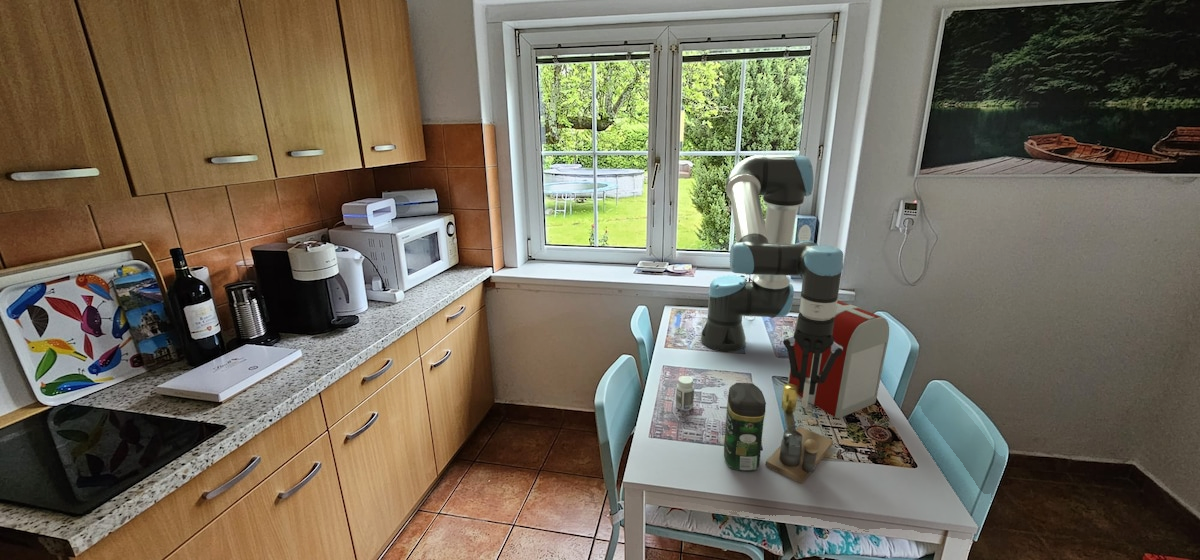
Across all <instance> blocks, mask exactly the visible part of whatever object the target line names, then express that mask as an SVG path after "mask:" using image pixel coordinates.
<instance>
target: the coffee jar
mask: <svg viewBox="0 0 1200 560" xmlns="http://www.w3.org/2000/svg"><path fill="white" fill-rule="evenodd" d="M726 404H727V405H726V414H725V415H726V416H725V418H726V419H725V432H724V442H723V454H724V455H723V456H724V458H725V461H726V462H725V463H726V464H727V465H728V467H729V468H732V469H734V470H737V471H739V472H740V471H741V472H752V471H753V472H754V471H755V470H758V468H759V466H760V463H761V462H760V461H761V451H762V440H763V432H764V431H763V429H764V422H765V416H766V406H767V405H766V404H767V402H766V399H765V396H764V393H763V391H762V390H761V389H760V388H759V387H758V386H757V385H755V383H753V382H751V383H750V382H735V383H734V384H732V385H730V387H729V389H728V394H727V403H726Z"/></svg>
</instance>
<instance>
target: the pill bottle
mask: <svg viewBox="0 0 1200 560" xmlns="http://www.w3.org/2000/svg"><path fill="white" fill-rule="evenodd" d="M675 389H676V390H675V391H676V392H675V394H676V395H675V407H676V409H678V410H681V411H690V410H692V409H693V408H694V396H695V386H694V379H693V378H692V377H691V376H688V375H682V376H679V377H678V380H677V385H676V388H675Z"/></svg>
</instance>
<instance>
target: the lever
mask: <svg viewBox="0 0 1200 560" xmlns="http://www.w3.org/2000/svg"><path fill="white" fill-rule="evenodd" d="M798 396H799V395H798V387H797V386H796V385H794V384H787V383H786V384H784V386H783V392H782V401H781V407H780V408H781V409H782V410H783V418H784V423H785V430H784V431H783V435H782V439H783V443H784V444H785V445H787V446H788V450H789V454H792V455H798V456H799V452H800V446H801V444H802V435H801V434H800V433H799V432H797V431H796V429H797V427H796V423H795V417H794V412H795V411H796V407H797V400H798Z"/></svg>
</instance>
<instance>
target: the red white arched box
mask: <svg viewBox="0 0 1200 560" xmlns="http://www.w3.org/2000/svg"><path fill="white" fill-rule="evenodd" d="M834 319H835V320H834V327H833V334H832V335H833V338H834V342H835V343H837V344H838V345H842V346H843V353H842V354H841V355H839V356H838V357H837V358H836V360H835V362H834V364H833V366H832V368H831V370H830V372H829V374H828V376H827V378H826V380H825V382H824V383H816V386H815V392H814V395H810V394H809V398H808V403H809V404H810V405H813V406H815V407H817V408H818V409H820V410H822V411H823V412H825V413H826V414H828V415H830V416H832V417H833V418H835V419H841V418H843V417H847V416H848V415H851V414H853V413H855V412H857V411H860V410H863V409H864V408H867V407H870V406H871V405H874V404H876V402H877V397H878V394H879V393H878V392H879V388H880V383H881V378H882V372H883V368H884V363H885V359H886V353H887V348H888V344H889V339H890V326H889V322H888V320H887V319H886V318H885V317H883V316H881V315H878V314H875V313H873V312H869V311H867V310H864V309H862V308H861V307H859V306H856V305H853V304H849V303H846V302H843V301H840V300H837V307H836V314H835V316H834ZM797 323H798V316H797V318H796V321H795V325H794V331H793V332H795V331H796V330H797ZM794 349H795V354H796V360H797V366H798V371H800V372H801V363H802V353H803V350H802V349H801V348H800V346H799V345H798V343H797V342H796V340H795V344H794ZM830 353H831V346H830V347H829V348H828V349H827V350H825V351H824V352H823V353H820V359H819V365H818V372H817V375H820V374H821V372H822V370H823V368H824V366H825V364H826V361H827V359H828V357H829V355H830ZM813 360H814V353H812V352H810V353H809V355H808V364H807V372H806V378H811V373H812V366H813ZM786 384H794V385H796V386H797V387H798V389H799V379H797V378H793V377H792V373H791V368H790V367H789V368H788V376H787V383H786ZM797 396H799V397H800V398H802V399H803V393H800V392H799V390H798V395H797Z"/></svg>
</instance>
